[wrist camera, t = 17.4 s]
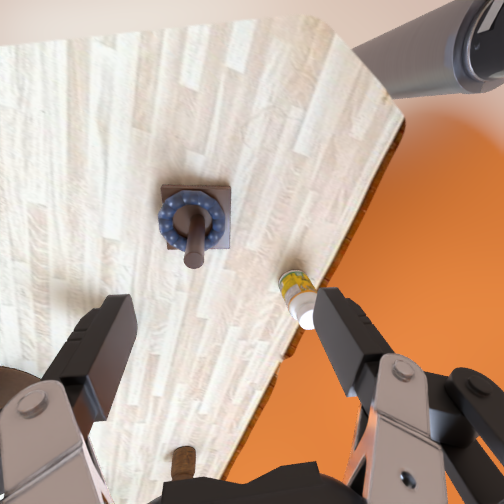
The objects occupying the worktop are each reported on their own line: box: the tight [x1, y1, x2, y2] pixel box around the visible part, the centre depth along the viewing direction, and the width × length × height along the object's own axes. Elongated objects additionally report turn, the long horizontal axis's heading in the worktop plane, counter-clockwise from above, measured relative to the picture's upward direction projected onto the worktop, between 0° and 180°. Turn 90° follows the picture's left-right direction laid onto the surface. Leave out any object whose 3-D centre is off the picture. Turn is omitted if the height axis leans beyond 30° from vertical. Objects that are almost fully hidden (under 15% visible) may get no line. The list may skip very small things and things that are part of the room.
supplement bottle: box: [279, 270, 318, 330], centre depth 40 cm, size 5×5×10 cm
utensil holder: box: [171, 447, 196, 481], centre depth 61 cm, size 6×6×12 cm
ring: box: [158, 190, 225, 252], centre depth 34 cm, size 9×9×2 cm
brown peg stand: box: [161, 185, 231, 269], centre depth 30 cm, size 9×9×12 cm
